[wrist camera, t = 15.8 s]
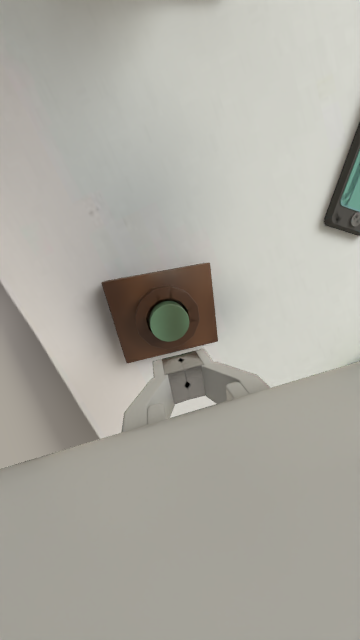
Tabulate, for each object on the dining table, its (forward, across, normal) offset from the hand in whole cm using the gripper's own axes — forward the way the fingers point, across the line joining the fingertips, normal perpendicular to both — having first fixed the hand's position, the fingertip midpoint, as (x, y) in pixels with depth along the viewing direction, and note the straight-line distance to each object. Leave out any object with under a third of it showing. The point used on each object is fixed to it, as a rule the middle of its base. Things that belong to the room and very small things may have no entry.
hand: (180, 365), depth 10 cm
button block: (+13, 0, 0) cm, 13 cm away
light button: (+9, 0, 0) cm, 9 cm away
